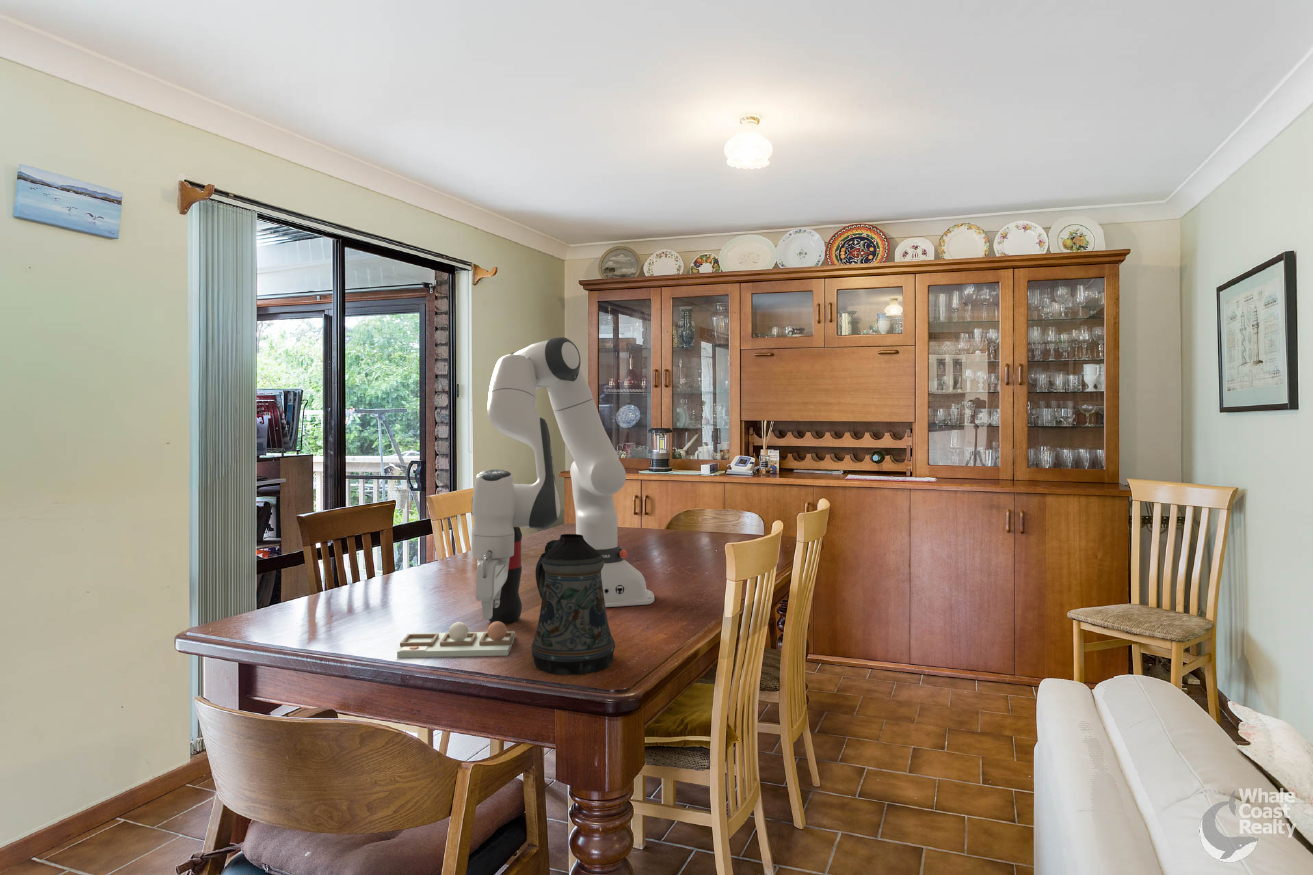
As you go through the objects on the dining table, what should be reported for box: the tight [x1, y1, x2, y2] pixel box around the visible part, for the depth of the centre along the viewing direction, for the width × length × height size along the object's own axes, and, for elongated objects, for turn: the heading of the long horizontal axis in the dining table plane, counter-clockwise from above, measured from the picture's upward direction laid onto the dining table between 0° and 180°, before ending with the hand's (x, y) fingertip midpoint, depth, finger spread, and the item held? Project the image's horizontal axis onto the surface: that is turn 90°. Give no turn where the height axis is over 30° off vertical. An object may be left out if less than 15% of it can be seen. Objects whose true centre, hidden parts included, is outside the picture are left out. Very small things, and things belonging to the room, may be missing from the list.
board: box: [396, 631, 516, 659], centre depth 159 cm, size 22×13×2 cm, turn 95°
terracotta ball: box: [487, 621, 508, 641], centre depth 160 cm, size 4×4×4 cm
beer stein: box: [530, 533, 616, 676], centre depth 150 cm, size 16×19×25 cm
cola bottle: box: [487, 527, 523, 625], centre depth 179 cm, size 8×8×30 cm
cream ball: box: [448, 621, 469, 641], centre depth 159 cm, size 4×4×4 cm
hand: (491, 612), depth 160 cm, fingers open, 8 cm apart
